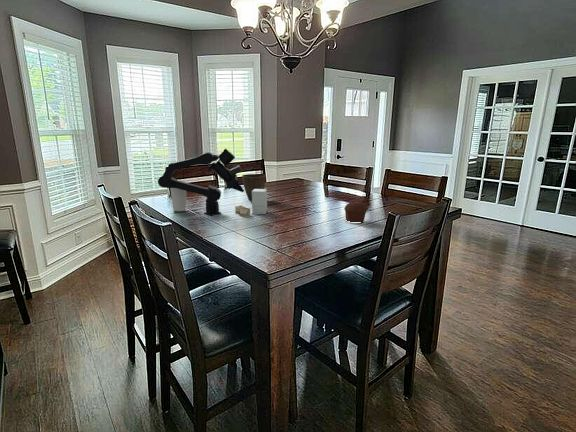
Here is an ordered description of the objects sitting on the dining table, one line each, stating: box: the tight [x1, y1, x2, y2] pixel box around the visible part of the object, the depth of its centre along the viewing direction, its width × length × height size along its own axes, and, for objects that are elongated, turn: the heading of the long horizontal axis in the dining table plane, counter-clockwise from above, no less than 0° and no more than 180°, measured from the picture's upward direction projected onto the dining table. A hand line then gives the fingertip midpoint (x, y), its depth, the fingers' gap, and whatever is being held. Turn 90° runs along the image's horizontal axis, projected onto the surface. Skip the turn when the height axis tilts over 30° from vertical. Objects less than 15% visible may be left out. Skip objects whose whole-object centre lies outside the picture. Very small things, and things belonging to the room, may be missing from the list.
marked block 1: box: [234, 205, 246, 216], centre depth 184 cm, size 4×4×4 cm
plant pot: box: [241, 173, 267, 202], centre depth 215 cm, size 15×15×16 cm
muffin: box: [344, 201, 369, 223], centre depth 171 cm, size 12×11×10 cm
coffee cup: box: [169, 188, 188, 212], centre depth 186 cm, size 10×10×15 cm
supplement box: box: [251, 188, 268, 215], centre depth 185 cm, size 7×7×13 cm
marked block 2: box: [239, 207, 251, 218], centre depth 179 cm, size 4×4×4 cm
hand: (243, 191), depth 183 cm, fingers closed
